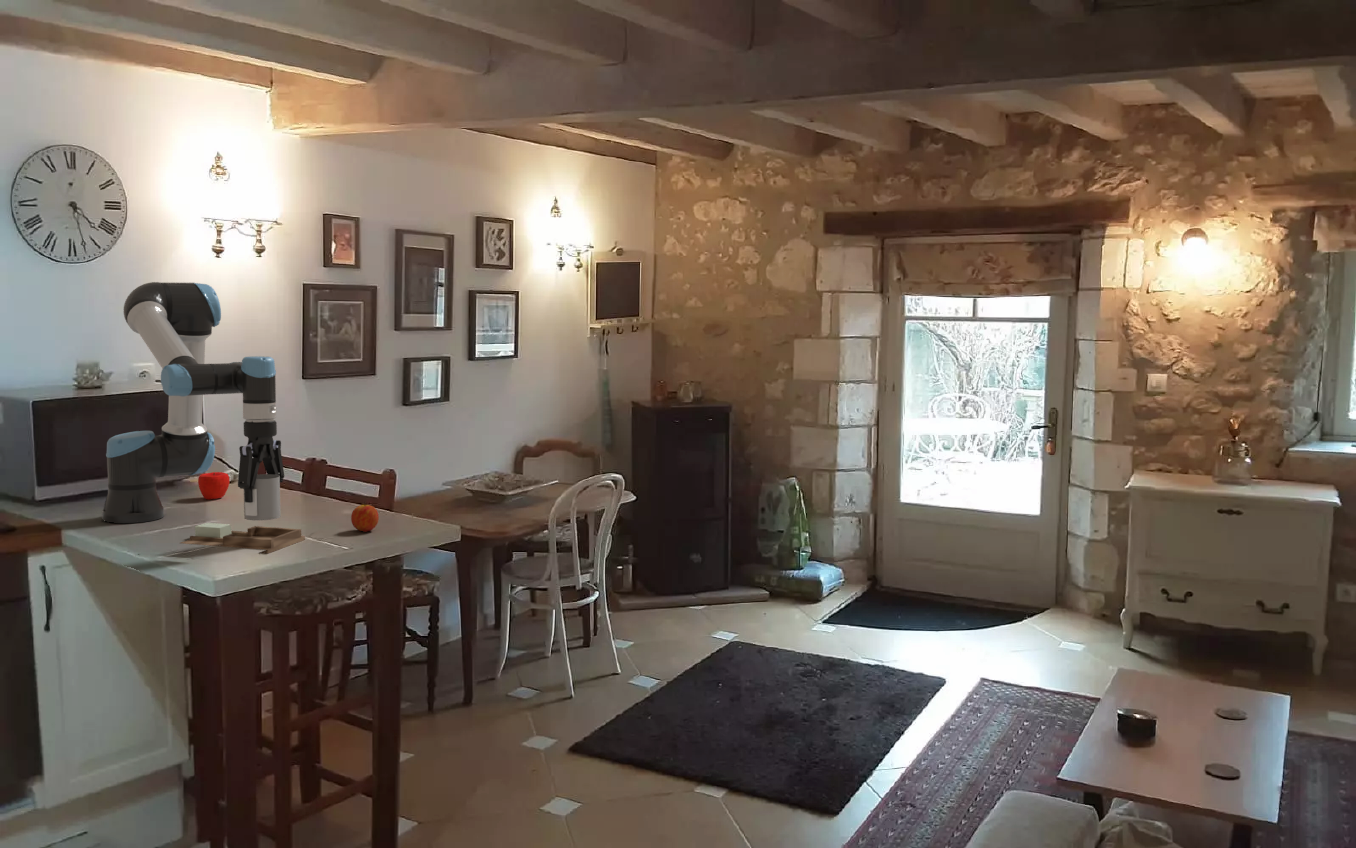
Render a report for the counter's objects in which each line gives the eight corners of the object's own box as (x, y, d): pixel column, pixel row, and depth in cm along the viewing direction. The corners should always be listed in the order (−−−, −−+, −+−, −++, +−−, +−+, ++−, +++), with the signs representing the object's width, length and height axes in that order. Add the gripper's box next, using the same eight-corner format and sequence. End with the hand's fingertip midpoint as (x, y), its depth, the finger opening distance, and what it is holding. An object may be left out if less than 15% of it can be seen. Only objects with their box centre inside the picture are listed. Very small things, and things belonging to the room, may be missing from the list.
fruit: (350, 529, 287) (349, 499, 286) (377, 527, 290) (376, 498, 289) (352, 534, 281) (352, 504, 280) (380, 532, 283) (379, 502, 283)
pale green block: (195, 538, 269) (194, 526, 268) (206, 534, 273) (206, 522, 273) (220, 540, 267) (219, 528, 267) (231, 536, 272) (231, 524, 271)
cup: (258, 521, 261) (257, 480, 260) (237, 517, 265) (235, 477, 264) (288, 516, 268) (287, 476, 267) (266, 512, 272) (265, 473, 271)
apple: (222, 501, 322) (221, 475, 321) (192, 501, 322) (192, 475, 321) (235, 496, 331) (234, 471, 330) (206, 495, 331) (205, 470, 330)
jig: (179, 547, 263) (178, 535, 263) (220, 533, 279) (220, 522, 279) (267, 553, 258) (267, 541, 258) (304, 539, 274) (304, 528, 273)
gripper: (247, 425, 253) (250, 520, 255) (298, 416, 273) (300, 505, 276) (219, 423, 254) (222, 519, 257) (271, 415, 275) (273, 503, 277)
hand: (262, 511), depth 266 cm, fingers closed on cup, 8 cm apart
